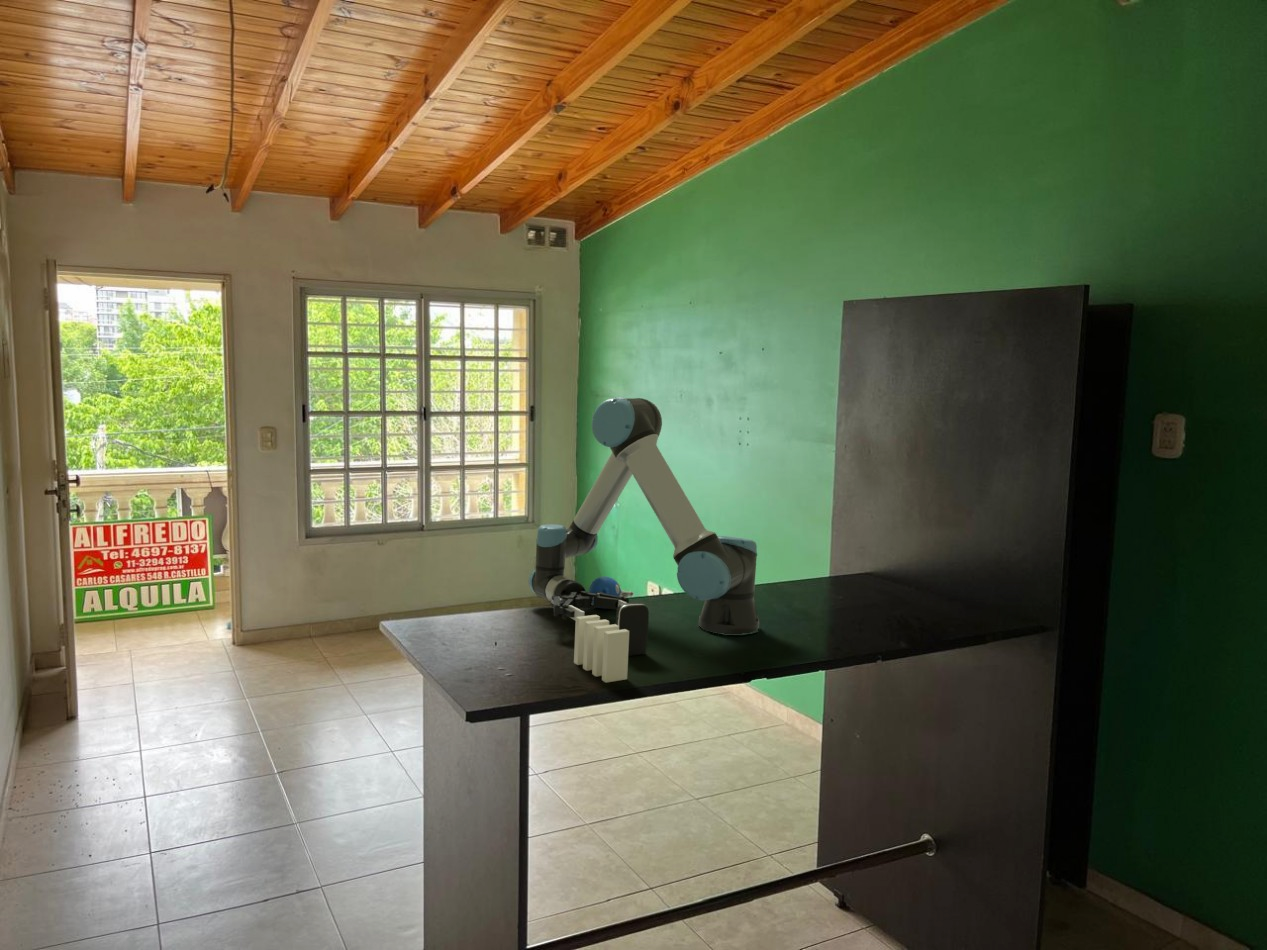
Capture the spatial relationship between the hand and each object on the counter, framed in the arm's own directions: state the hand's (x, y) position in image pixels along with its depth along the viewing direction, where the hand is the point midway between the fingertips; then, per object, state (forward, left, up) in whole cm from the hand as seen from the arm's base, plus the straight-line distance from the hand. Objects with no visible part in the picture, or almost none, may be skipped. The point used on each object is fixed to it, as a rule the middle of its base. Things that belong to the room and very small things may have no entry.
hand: (608, 615), depth 203 cm
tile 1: (+12, +11, -6) cm, 18 cm away
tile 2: (+12, +15, -6) cm, 20 cm away
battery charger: (0, +10, -6) cm, 12 cm away
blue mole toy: (-16, -26, -6) cm, 31 cm away
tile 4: (+12, +23, -6) cm, 27 cm away
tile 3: (+12, +19, -6) cm, 24 cm away
